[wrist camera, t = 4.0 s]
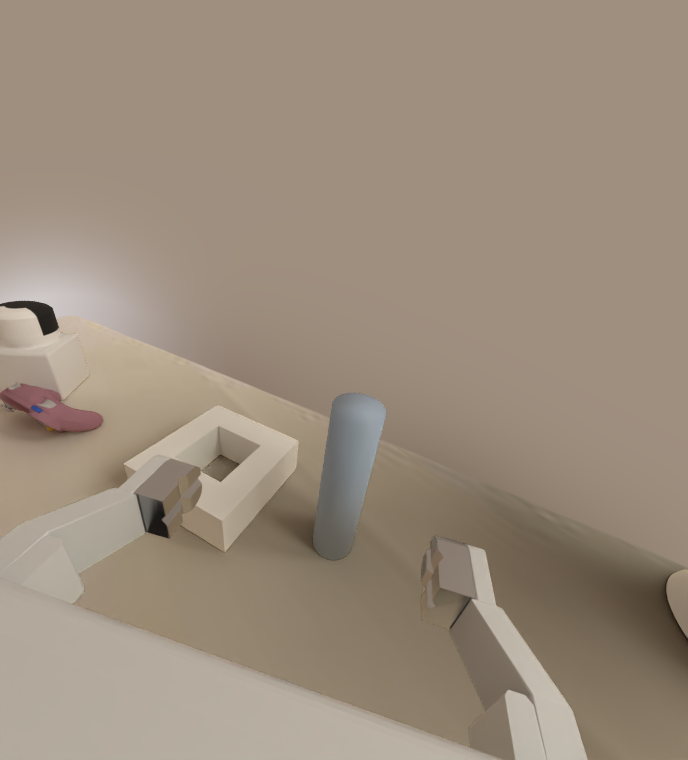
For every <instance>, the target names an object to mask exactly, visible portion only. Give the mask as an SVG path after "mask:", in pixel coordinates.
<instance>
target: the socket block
mask: <svg viewBox="0 0 688 760" xmlns="http://www.w3.org/2000/svg"><path fill="white" fill-rule="evenodd" d="M298 444H299V440H296V439H294V438H292V437H290V436H287V435H285V434H283V433H281V432H278V431H276V430H274V429H271V428H269V427H267V426H265V425H262V424H260V423H258V422H256V421H253V420H251V419H249V418H247V417H244V416H242V415H240V414H237V413H235V412H233V411H231V410H228V409H226V408H224V407H222V406H219V405H216V406H215V407H213V408H211V409H210V410H208V411H207V412H205V413H203V414H202V415H200V416H199V417H197V418H195V419H194V420H192V421H191V422H189V423H187V424H186V425H184V426H183V427H181V428H179V429H178V430H176V431H175V432H173V433H171V434H170V435H168V436H167V437H165V438H163V439H162V440H160V441H159V442H157V443H155V444H154V445H152V446H151V447H149V448H148V449H146V450H144V451H143V452H141V453H140V454H138V455H136V456H135V457H133V458H132V459H130V460H128V461H127V462H125V463H124V467H125V471H126V474H127V478H128V479H129V478H130V477H131V476H132V475H133V474H134V473H135V472H137V471H138V470H139V469H140V468H141V467H142V466H143V465H144V464H145V463H147V462H148V461H149V460H150V459H151V458H152V457H154V456H156V455H158V454H159V455H162V456H166V457H169V458H172V459H175V460H178V461H181V462H185V463H188V464H191V465H194V466H197V467H200V472H201V470H202V469H203V468H204V467H206V466H207V465H208V464H209V463H211V462H212V461H213V460H214V459H216V458H217V457H218V456H219V455H222V456H224V457H226V458H228V459H230V460H232V461H234V462H236V463H238V464H240V465H239V466H238V467H237V468H235V469H234V470H233V471H232V472H231V473H230V474H229V475H228V476H227V477H226V478H224V479H223V480H222V481H221V482H220V481H218V480H216V479H214V478H212V477H210V476H208V475H207V474H205V473H203V472H201V475H200V476H199V477H198V479H199V480H200V482H201V483H202V492H201V496H200V498H199V500H198V502H197V504H196V505H195V507H194V508H193V509H192V510H191V511H189V512H187V513H185V514H183V522H182V524H181V526H183V527H184V528H186V529H187V530H189V531H191V532H192V533H194V534H196V535H197V536H199V537H200V538H202V539H204V540H205V541H207V542H208V543H210V544H212V545H213V546H215V547H217V548H218V549H220V550H221V551H223V552H226V550H227V549H228V548H229V547H230V546H231V545H232V543H233V542H234V541H235V540H236V539H237V538H238V536H239V535H240V534H241V533H242V532H243V531H244V529H245V528H246V527H247V526H248V525H249V524H250V522H251V521H252V520H253V519H254V518H255V516H256V515H257V514H258V513H259V512H260V511H261V509H262V508H263V507H264V506H265V505H266V504H267V502H268V501H269V500H270V499H271V498H272V497H273V495H274V494H275V493H276V492H277V491H278V490H279V488H280V487H281V486H282V485H283V484H284V482H285V481H286V480H287V479H288V478H289V477H290V475H291V474H292V473H293V472H294V471H295V470H296V466H297V455H298Z"/></svg>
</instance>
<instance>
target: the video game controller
mask: <svg viewBox="0 0 688 760" xmlns="http://www.w3.org/2000/svg"><path fill="white" fill-rule="evenodd" d="M0 398H1V399H2V401H3V402H4V403H5V405H6V407H5V406H3V405H2V407H3V409H5V410H7V411H8V412H9V411H10V412H13V411H12V410H11V409H15V410H16V409H17V410H22V411H24V412H26V413H28V414H29V415H31V416H32V417H33V418H35V419H36V421H37V422H39V423H41V424H42V425H44V426H46V429H48V430H49V431H53V430H54V429H55V430H57V431H59V432H61V433H62V432H63V431H73V432H76V431H88V430H93V429H95V428H97V427H99V426H101V424H102V422H103V418H102V416H101V415H100V414H98V413H96V412H92V411H84V410H78V409H73V408H71V407H68V406H66V405H64V404H63V403H61V402H60V401H61V396H60V394H59V393H57V392H55V391H53V390H49V389H43V388H41V387H37V386H30V385H27V384H23V383H20V384H19V383H17V382H16V383H15V385H13V386H9V387H7V388H6V389H5V390H3V391H2V392H1V393H0Z"/></svg>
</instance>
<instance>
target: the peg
mask: <svg viewBox="0 0 688 760" xmlns="http://www.w3.org/2000/svg"><path fill="white" fill-rule="evenodd" d="M385 417H386V409H385V407H384V406H383V404H382V403H381V402H379V401H378V400H376V399H375V398H373V397H370V396H368V395H365V394H360V393H346V394H342V395H340V396H338V397H336V398H335V399H334V401H333V404H332V410H331V417H330V424H329V430H328V437H327V444H326V451H325V457H324V464H323V471H322V478H321V484H320V491H319V498H318V505H317V511H316V518H315V525H314V532H313V546H314V548H315V550H316V551H317V553H318V554H319V555H321V556H322V557H324V558H326V559H329V560H339V559H342V558H344V557H345V556H347V555H348V554H349V552H350V551H351V549H352V545H353V542H354V538H355V534H356V530H357V526H358V522H359V518H360V514H361V510H362V506H363V503H364V499H365V495H366V491H367V487H368V483H369V479H370V475H371V471H372V467H373V464H374V460H375V456H376V452H377V448H378V444H379V440H380V436H381V432H382V428H383V425H384V420H385Z"/></svg>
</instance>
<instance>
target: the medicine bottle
mask: <svg viewBox="0 0 688 760" xmlns="http://www.w3.org/2000/svg"><path fill="white" fill-rule="evenodd" d="M89 375H90V373H89V370H88V367H87V363H86V360H85V357H84V353H83V350H82V347H81V344H80V340H79V337H78V335H77V334H76V333H61V332H60V329H59V326H58V323H57V320H56V317H55V314H54V311H53V308H52V307H50V306H49V305H47V304H44V303H39V302H35V301H14V302H7V303H2V304H0V393H1V392H2V391H3V390H5V389H6V388H7V387H9V386H13V385H15V383H16V382H17V383H19V384H20V383H23V384H27V385H30V386H37V387H41V388H43V389H49V390H53V391H55V392H57V393H59V394H60V396H61V400H65V399H66V398H67V397H68V396H69V395H70V394H71V393H72V392H73V391H74V390H75V389H76V388H77V387H78V386H79V385H80V384H81V383H82V382H83V381H84V380H85V379H86V378H87V377H88V376H89Z"/></svg>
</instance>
